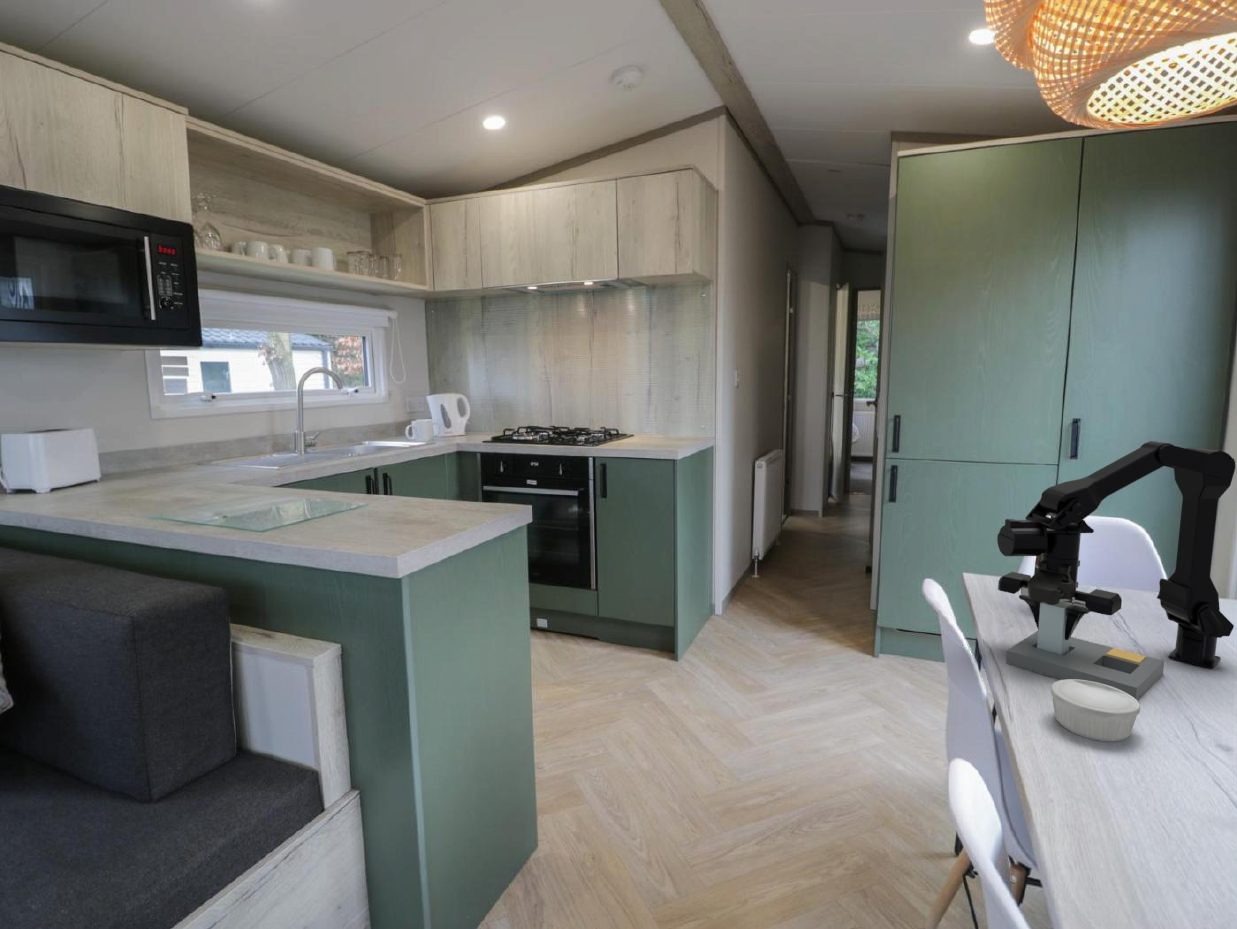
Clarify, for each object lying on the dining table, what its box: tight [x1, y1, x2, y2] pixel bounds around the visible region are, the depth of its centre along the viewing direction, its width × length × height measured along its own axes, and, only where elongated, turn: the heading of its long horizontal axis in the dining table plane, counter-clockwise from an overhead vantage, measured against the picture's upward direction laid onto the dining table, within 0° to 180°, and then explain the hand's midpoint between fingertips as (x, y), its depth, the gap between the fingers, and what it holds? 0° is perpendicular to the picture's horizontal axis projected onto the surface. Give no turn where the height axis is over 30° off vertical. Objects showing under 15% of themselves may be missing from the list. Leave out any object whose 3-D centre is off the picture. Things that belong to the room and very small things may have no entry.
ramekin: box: [1050, 679, 1141, 743], centre depth 105 cm, size 11×11×5 cm
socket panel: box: [1005, 630, 1165, 701], centre depth 125 cm, size 16×20×3 cm
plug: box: [1037, 601, 1073, 655], centre depth 128 cm, size 4×4×10 cm
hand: (1053, 636), depth 128 cm, fingers closed on plug, 4 cm apart
